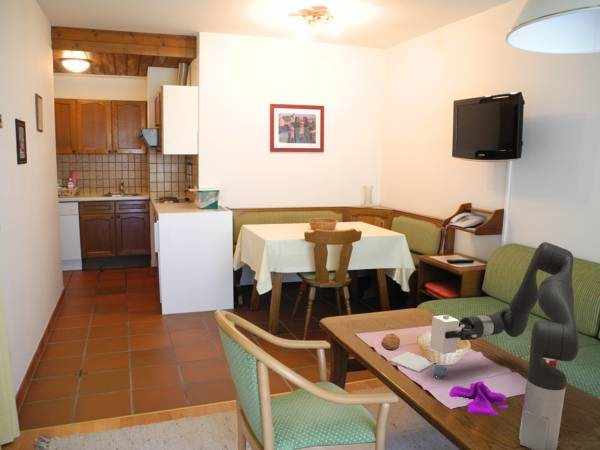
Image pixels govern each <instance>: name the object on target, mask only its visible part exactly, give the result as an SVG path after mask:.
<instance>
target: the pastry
mask: <svg viewBox="0 0 600 450" xmlns="http://www.w3.org/2000/svg"><path fill="white" fill-rule="evenodd" d="M381 343H382V346H383V347H384V349H386V350H396V349H398V348H399V346H400V345H401V344H400V343H401V339H400V337H398V335H396V334H395V333H387V334H386V335H385V336H384V337H383V338H382V342H381Z"/></svg>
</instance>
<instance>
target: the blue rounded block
mask: <svg viewBox="0 0 600 450" xmlns="http://www.w3.org/2000/svg"><path fill="white" fill-rule="evenodd" d="M447 374H448V367H447V366H446V365H443V364H437V365H436V364H435V367H434V373H433V375H434V377H436V376H437V377H436V378H438V377H439V378H438V379H446V378H447V377H448V376H447ZM445 377H446V378H445Z"/></svg>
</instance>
